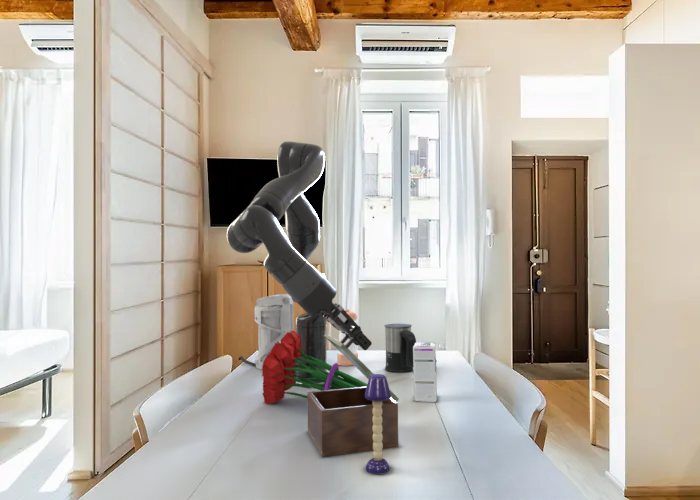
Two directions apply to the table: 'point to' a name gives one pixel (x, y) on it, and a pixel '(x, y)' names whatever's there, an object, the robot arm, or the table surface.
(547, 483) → the table surface
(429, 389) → the syrup box
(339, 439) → the crate
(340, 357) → the pepper shaker
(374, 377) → the toy lamp
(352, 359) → the green lid with handle
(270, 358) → the bouquet
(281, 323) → the lantern
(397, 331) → the milk frother
